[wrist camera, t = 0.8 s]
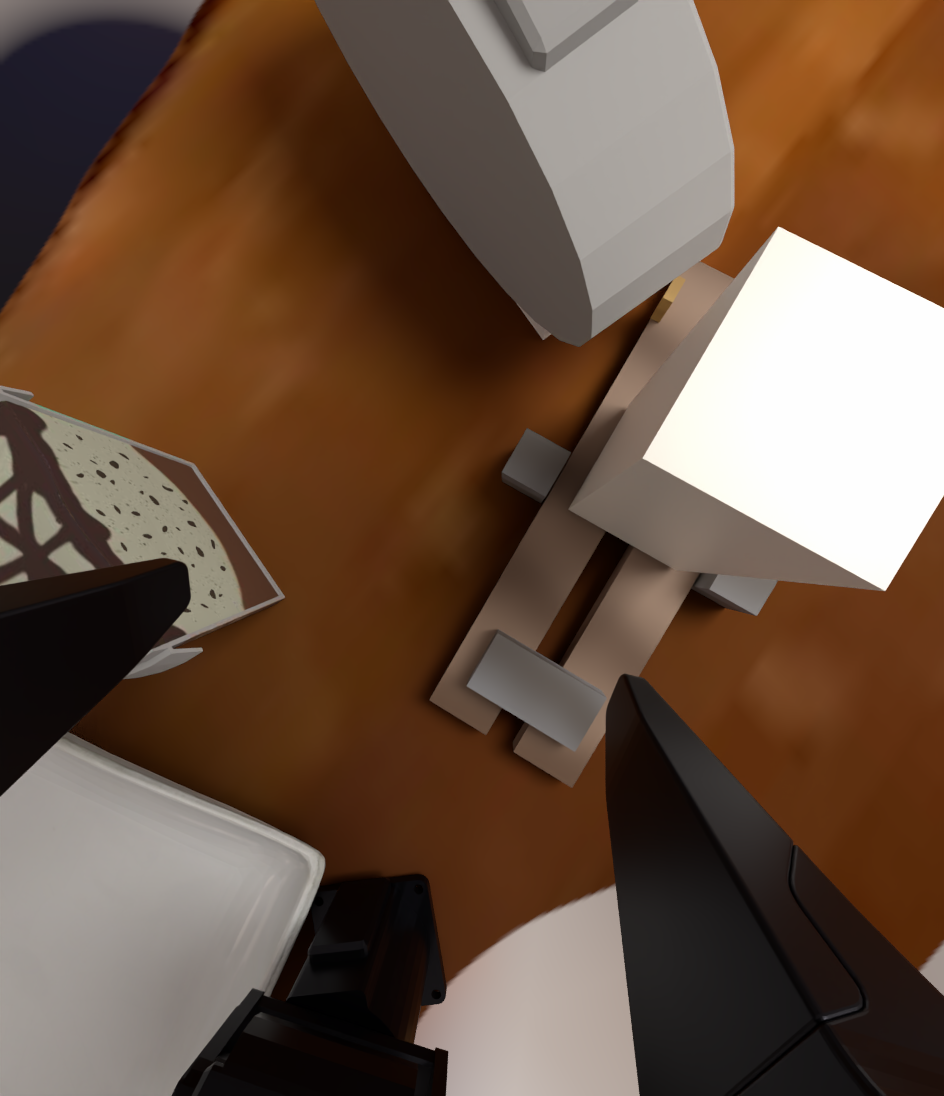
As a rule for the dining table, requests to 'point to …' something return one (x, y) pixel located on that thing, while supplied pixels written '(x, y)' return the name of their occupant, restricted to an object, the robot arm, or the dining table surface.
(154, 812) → the square plate
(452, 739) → the dining table surface
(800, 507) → the block
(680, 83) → the alarm clock
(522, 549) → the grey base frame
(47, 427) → the food container
